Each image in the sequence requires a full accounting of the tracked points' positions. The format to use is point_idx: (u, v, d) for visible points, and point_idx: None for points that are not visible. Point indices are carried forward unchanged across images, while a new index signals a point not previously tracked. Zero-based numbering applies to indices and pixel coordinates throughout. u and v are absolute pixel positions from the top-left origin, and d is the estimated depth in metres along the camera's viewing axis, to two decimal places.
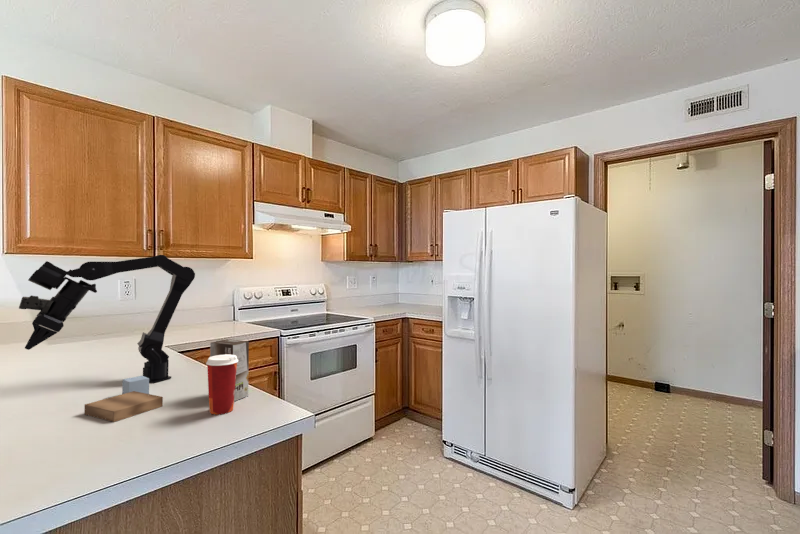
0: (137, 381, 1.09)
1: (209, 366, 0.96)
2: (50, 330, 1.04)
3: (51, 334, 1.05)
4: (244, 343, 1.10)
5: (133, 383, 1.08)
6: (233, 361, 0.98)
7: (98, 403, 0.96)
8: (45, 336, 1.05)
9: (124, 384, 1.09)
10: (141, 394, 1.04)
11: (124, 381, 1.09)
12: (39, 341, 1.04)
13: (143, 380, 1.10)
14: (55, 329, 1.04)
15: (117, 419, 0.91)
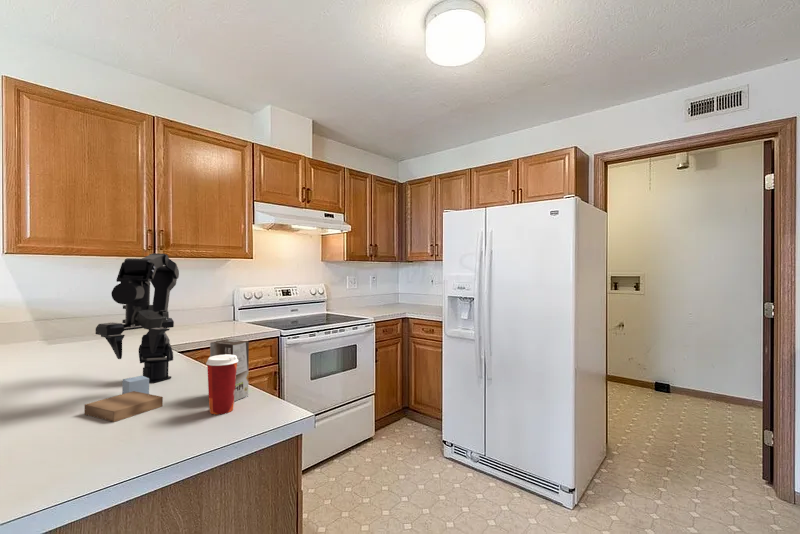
0: (137, 381, 1.09)
1: (209, 366, 0.96)
2: None
3: None
4: (244, 343, 1.10)
5: (133, 383, 1.08)
6: (233, 361, 0.98)
7: (98, 403, 0.96)
8: None
9: (124, 384, 1.09)
10: (141, 394, 1.04)
11: (124, 381, 1.09)
12: None
13: (143, 380, 1.10)
14: None
15: (117, 419, 0.91)
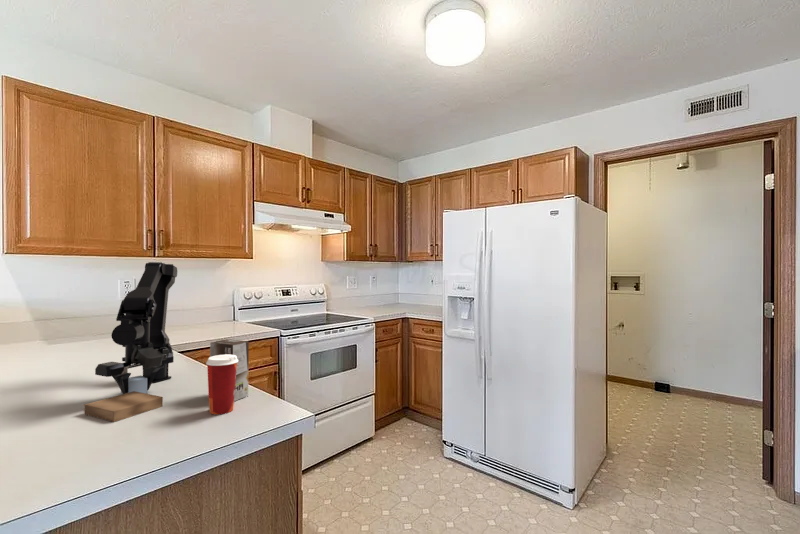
0: (135, 381, 1.08)
1: (209, 366, 0.96)
2: None
3: None
4: (244, 343, 1.10)
5: (131, 383, 1.07)
6: (233, 361, 0.98)
7: (98, 403, 0.96)
8: None
9: None
10: (141, 394, 1.04)
11: None
12: None
13: (141, 380, 1.09)
14: None
15: (117, 419, 0.91)
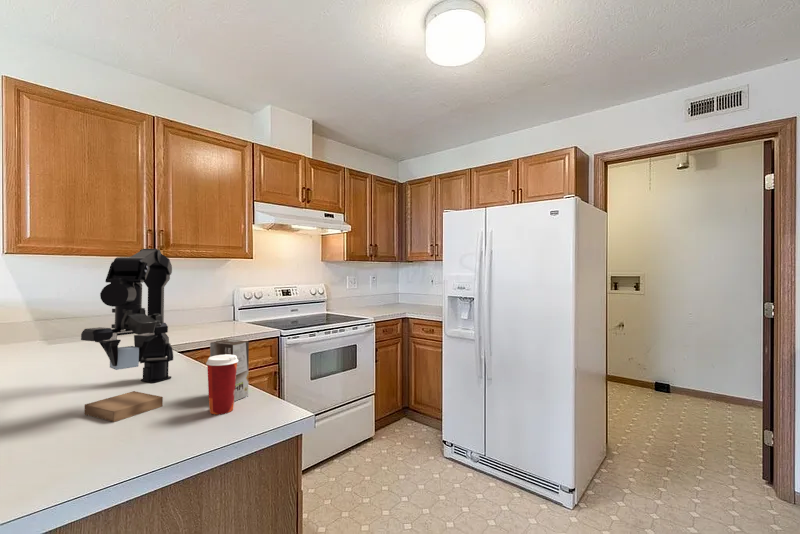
0: (125, 350, 0.99)
1: (209, 366, 0.96)
2: None
3: None
4: (244, 343, 1.10)
5: (121, 352, 0.98)
6: (233, 361, 0.98)
7: (98, 403, 0.96)
8: None
9: None
10: (141, 394, 1.04)
11: None
12: None
13: (132, 349, 1.00)
14: None
15: (117, 419, 0.91)
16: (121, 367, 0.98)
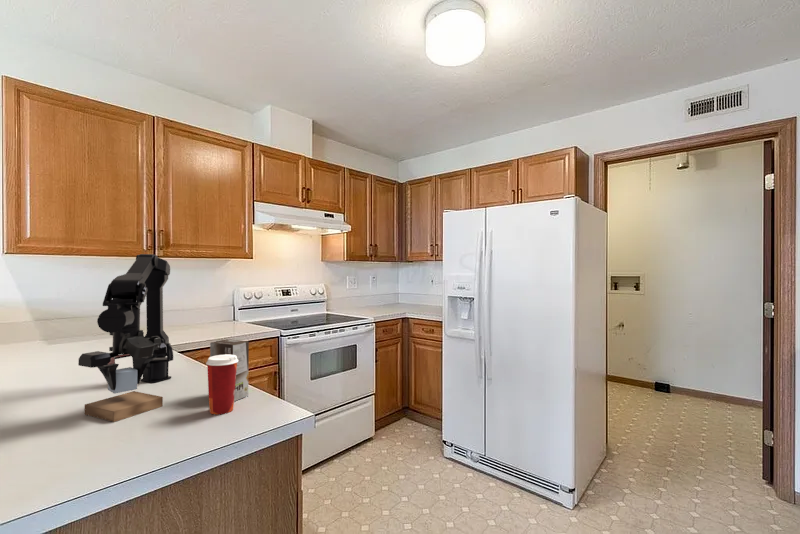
0: (124, 373, 0.98)
1: (209, 366, 0.96)
2: None
3: None
4: (244, 343, 1.10)
5: (119, 375, 0.97)
6: (233, 361, 0.98)
7: (98, 403, 0.96)
8: None
9: None
10: (141, 394, 1.04)
11: None
12: None
13: (131, 372, 0.99)
14: None
15: (117, 419, 0.91)
16: (119, 390, 0.97)
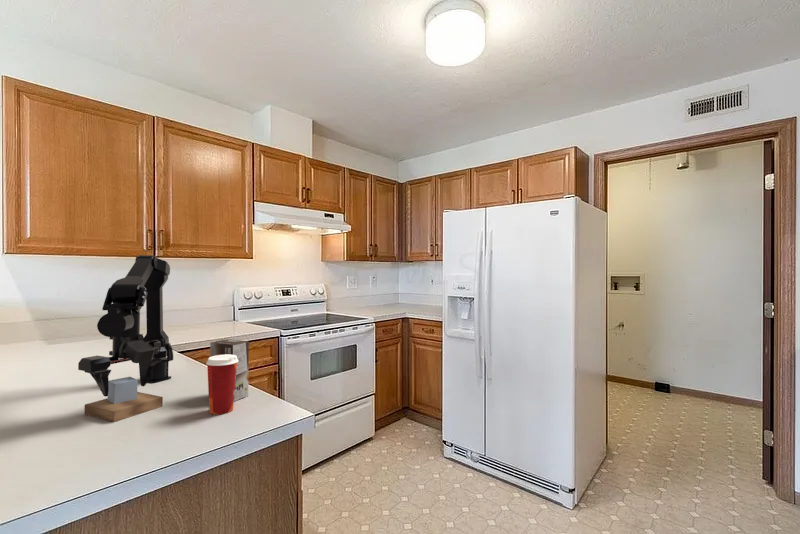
0: (124, 383, 0.98)
1: (209, 366, 0.96)
2: None
3: None
4: (244, 343, 1.10)
5: (119, 385, 0.97)
6: (233, 361, 0.98)
7: (98, 403, 0.96)
8: None
9: (109, 386, 0.98)
10: (141, 394, 1.04)
11: (109, 383, 0.98)
12: None
13: (131, 382, 0.99)
14: None
15: (117, 419, 0.91)
16: (120, 400, 0.97)
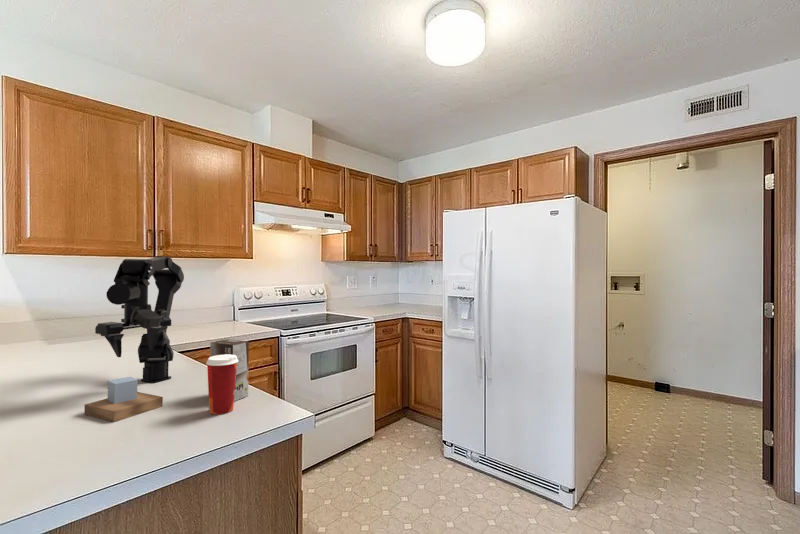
0: (124, 383, 0.98)
1: (209, 366, 0.96)
2: None
3: None
4: (244, 343, 1.10)
5: (119, 385, 0.97)
6: (233, 361, 0.98)
7: (98, 403, 0.96)
8: None
9: (109, 386, 0.98)
10: (141, 394, 1.04)
11: (109, 383, 0.98)
12: None
13: (131, 382, 0.99)
14: None
15: (117, 419, 0.91)
16: (120, 400, 0.97)
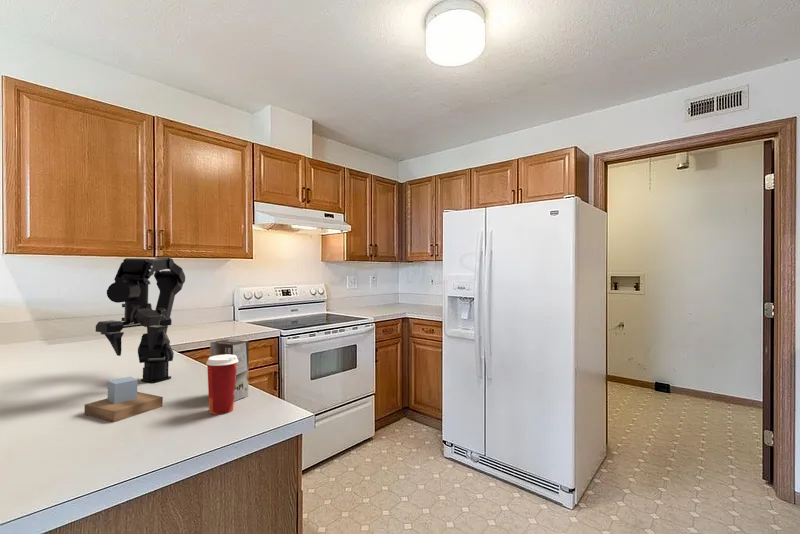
0: (124, 383, 0.98)
1: (209, 366, 0.96)
2: None
3: None
4: (244, 343, 1.10)
5: (119, 385, 0.97)
6: (233, 361, 0.98)
7: (98, 403, 0.96)
8: None
9: (109, 386, 0.98)
10: (141, 394, 1.04)
11: (109, 383, 0.98)
12: None
13: (131, 382, 0.99)
14: None
15: (117, 419, 0.91)
16: (120, 400, 0.97)
